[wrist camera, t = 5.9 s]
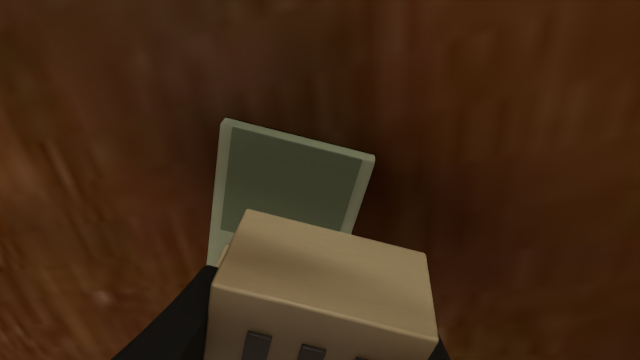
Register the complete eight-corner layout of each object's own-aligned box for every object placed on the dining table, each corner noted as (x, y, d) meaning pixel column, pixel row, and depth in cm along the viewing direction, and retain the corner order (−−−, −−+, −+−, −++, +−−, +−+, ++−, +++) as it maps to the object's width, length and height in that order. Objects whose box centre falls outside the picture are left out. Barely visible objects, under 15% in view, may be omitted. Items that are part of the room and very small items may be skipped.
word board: (298, 386, 24) (288, 443, 22) (199, 362, 24) (177, 416, 22) (375, 154, 16) (375, 200, 13) (224, 116, 16) (193, 154, 13)
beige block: (373, 362, 12) (373, 458, 10) (227, 326, 12) (194, 415, 10) (426, 252, 10) (441, 345, 8) (246, 206, 10) (208, 288, 8)
